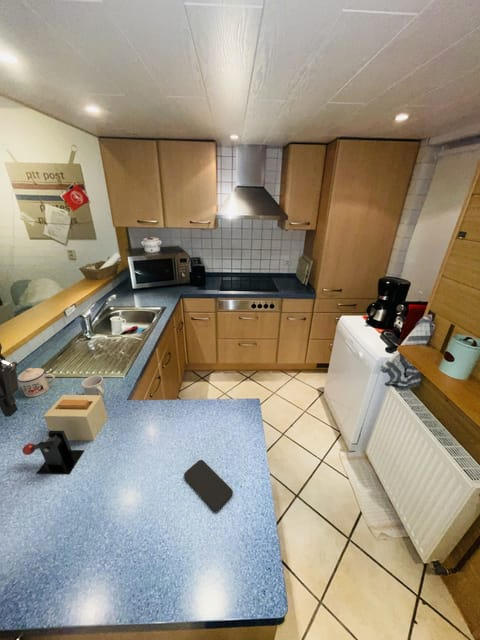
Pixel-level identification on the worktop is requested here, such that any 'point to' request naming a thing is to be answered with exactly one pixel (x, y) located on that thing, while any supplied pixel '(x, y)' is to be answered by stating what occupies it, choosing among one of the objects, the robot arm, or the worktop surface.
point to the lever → (32, 447)
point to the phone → (208, 485)
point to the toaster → (78, 418)
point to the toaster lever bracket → (58, 455)
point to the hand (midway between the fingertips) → (11, 412)
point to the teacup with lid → (34, 381)
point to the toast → (74, 404)
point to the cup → (94, 385)
